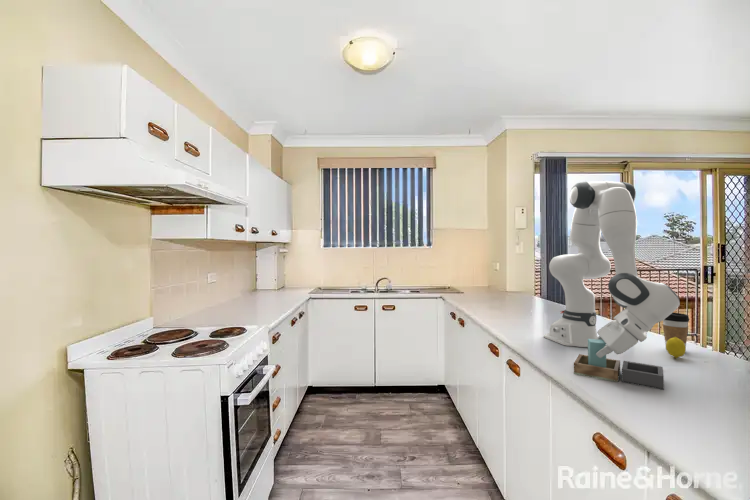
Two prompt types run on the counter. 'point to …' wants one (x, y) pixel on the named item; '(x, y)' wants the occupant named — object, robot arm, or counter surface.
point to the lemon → (675, 347)
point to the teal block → (592, 349)
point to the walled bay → (597, 369)
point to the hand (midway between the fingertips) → (594, 351)
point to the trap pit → (643, 374)
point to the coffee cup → (676, 327)
